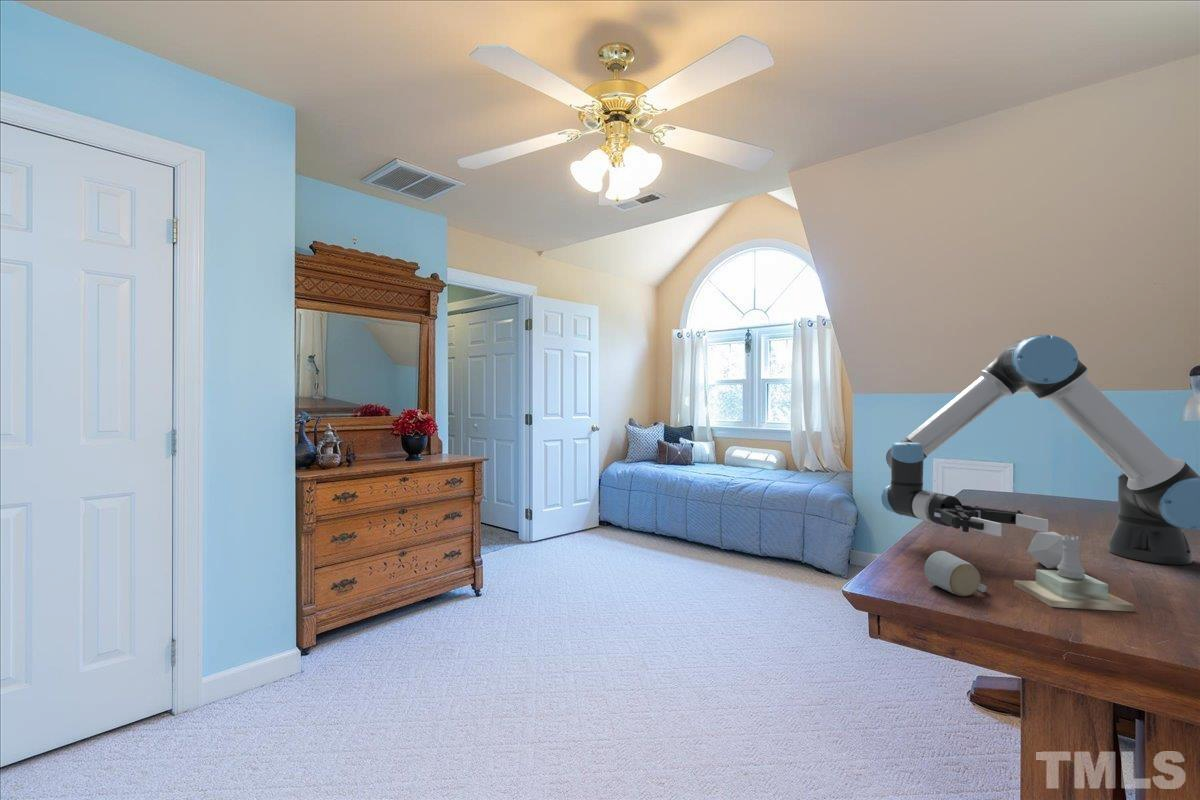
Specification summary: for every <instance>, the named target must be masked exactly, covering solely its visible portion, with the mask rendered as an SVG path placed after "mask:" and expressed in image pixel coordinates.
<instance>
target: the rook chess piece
mask: <svg viewBox="0 0 1200 800" xmlns="http://www.w3.org/2000/svg"><path fill="white" fill-rule="evenodd" d="M1062 536H1063V538H1062V539H1061V541H1062V542H1063V543H1064V546H1063V547H1062V548H1063V557H1062V560H1061V562H1060V564H1059V565H1058V566H1057V568H1056V569H1058V570H1057V573H1058V575H1059V576H1061V577H1064V578H1068V579H1075V580H1082V579H1084V578H1085V575H1083V574H1086V570H1085V568H1084V567H1083V565H1082V563H1081V560H1080V551H1081V549H1080V546H1081V545H1082V543H1083V542H1082V541H1081V539H1080V538H1081V537H1080V536H1076V535H1071V536H1070V534H1063V535H1062Z"/></svg>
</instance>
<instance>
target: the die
mask: <svg viewBox="0 0 1200 800" xmlns="http://www.w3.org/2000/svg"><path fill="white" fill-rule="evenodd" d="M1062 538H1063V535H1061V534H1060V533H1057V532H1055V531H1048V532H1041V531H1038V532H1035V534H1034V536H1033V539H1032V540H1031V542H1030V545H1029V546H1028V549H1027V551H1026V552H1027V553H1028V554H1029V555H1031V557H1032V558H1034V560H1035V561H1037V562H1038V563H1039V564H1041V565H1042V566H1043V567H1045V568H1047V569H1058V568H1057V566H1058V565H1059V564H1060V562H1061V560H1062V557H1063V548H1062V547H1063V546H1064V543H1063V542H1062V541H1061V539H1062Z"/></svg>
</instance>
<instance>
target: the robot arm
mask: <svg viewBox="0 0 1200 800" xmlns="http://www.w3.org/2000/svg"><path fill="white" fill-rule="evenodd" d="M1088 371H1089V368H1088V367H1087V366H1086V365H1084V363H1083V362H1081V360H1080V359H1079V355H1078V352H1077V349H1076V348H1075V347H1074V345H1073V344H1072V343H1071V342H1070V341H1069V340H1066V339H1065V338H1063V337H1060V336H1058V335H1057V336H1056V335H1052V334H1038V335H1032V336H1029V337H1027V338H1024V339H1021V340H1017V341H1015V342H1013V343H1012V344H1010V345H1008V346H1006V348H1005V349H1003V351H1002V352H1001V353H999V355H997V356H996V357H995V358H994V359H993V360H992V361H991V362H990V363H989V364H988V365H987V366H986V367H984V368H983V369H981V371H980V377H978V378H977V379H976V380H975V381H973V382H972V383H971V384H970V385H968V386H967V387H966V388H965V389H964V390H962V391H961V392H960V393H959V394H958V395H956V396H955V397H954V398H953V399H951V400H950V401H949V402H947V403H946V404H945V405H944V406H943V407H942V408H939V410H938V411H936V412H935V413H934V414H933V415H932V416H930V417H928V419H926V421H924V422H923V423H922V424H921V425H919V426H918V427H917V428H916V429H915V430H913V431H912V432H911V433H909V434H908V435H907V436H906V437H905V438H904V439H902V440H901V441H895V442H893V443H892V445H891V447H890V448H888V450H887V452H886V455H885V460H886V464H887V465H888V467H889V468H890V470H891V472H890V473H891V476H890V477H891V480H890V484H887V485H886V486H885V487H884V488H883V490H882V491H883V492H882V493H881V495H880V501H881V503H882V506H883V507H884V508H885V509H886V510H887V511H888V512H889V511H890V513H891V512H892V513H895V514H897V515H898V516H899V515H900V516H905V517H910V518H912V519H913V518H914V519H918V520H922V521H925V523H926V524H931V523H935V524H936V525H939V526H944V527H952V528H953V529H957V530H958V529H961V528H962V530H961V531H962V532H964V533H969V532H970V531H969V530H972V531H975V532H979V533H983V534H987V535H991V536H995V537H1002V529H1003V528H1002V527H1003V525H1002V524H1009V525H1015V526H1016V527H1019V528H1025V529H1028V530H1033V531H1038V532H1049V519H1046V518H1041V517H1036V516H1032V515H1027V514H1024V513H1023V512H1022V511H1021V510H1019V509H1018V510H1016V511H1012V510H1006V509H997V508H989V507H983V506H979V505H976V506H972V505H969V504H968V505H967V504H962V502H961V500H959V499H958V498H957V497H956V496H953V495H950V494H949V495H948V494H945V493H944V494H942V493H939V492H933V491H930V490H924V489H923V488H924V460H925V459H927V458H928V457H929V456H930V455H931V454H933V453H934V452H935V451H936V450H938V449H939V448H940V447H942V446H943V445H944V444H945V443H947V442H948V441H949V440H950V439H951V438H953V437H954V436H955V435H957V434H958V433H959V432H961V431H962V430H964V429H965V427H967V426H968V425H969V424H971V423H972V422H973V421H974V420H976V419H977V418H979V416H981V415H982V414H983V413H985V412H986V411H987V410H988V409H990V408H991V407H992V406H994V405H995V404H996V403H998V402H999V401H1000V400H1001V399H1003V398H1004V397H1012V396H1013V395H1014V394H1016V392H1018V391H1021V390H1022V389H1023V388H1025V387H1027V388H1028V390H1030V391H1031V392H1032V393H1033V394H1034V395H1035V396H1036V397H1037V398H1038V399H1039V400H1047V401H1048V400H1049V401H1051V402H1052V403H1053V404H1054V405H1055V406H1056V407H1057V408H1058V409H1059V410H1060V411H1061V412H1062V413H1063V414H1064V416H1066V417H1067V418H1068V419H1069V420H1070V422H1072V423H1073V424H1074V425H1075V426H1076V427H1077V428H1078V429H1079V430H1080V431H1081V432H1082V433H1083V434H1084V435H1085V436H1086V437H1087V438H1088V440H1090V441H1091V442H1092V443H1093V444H1094V445H1095V446H1096V447H1097V448H1098V449H1099V450H1100V451H1101V452H1102V453H1103V454H1104V455H1105V456H1106V457H1107V458H1108V459H1109V460H1110V461H1111V462H1112V463H1113V464H1114V465H1115V466H1116V467H1117V468H1118V469H1119V471H1118V476H1117V480H1118V483H1117V485H1118V488H1117V489H1118V492H1117V493H1118V494H1117V495H1118V496H1117V497H1118V498H1117V505H1118V506H1117V510H1118V511H1117V515H1118V516H1117V523H1116V526H1115V528H1114V529H1113V531H1112V534H1111V536H1110V538H1109V541H1108V548H1107V549H1108V550H1107V551H1108V552H1109V553H1110V554H1114V555H1117V556H1120V557H1123V558H1127V559H1131V560H1137V561H1141V562H1148V563H1154V564H1163V565H1174V566H1175V565H1176V566H1177V565H1178V566H1179V565H1181V566H1182V565H1183V566H1184V565H1191V564H1192V563H1193V552H1192V550H1191V548H1190V545H1189V542H1188V540H1187V537H1186V536H1185V532H1184V530H1183V529H1185V530H1192V531H1198V530H1199V531H1200V474H1198V473H1197V472H1196V471H1195V470H1194V469H1193V468H1192V467H1191V466H1189V464H1188V463H1187V462H1186V461H1185V460H1183V459H1182V458H1177V457H1169V456H1168V455H1167V454H1166V453H1165V452H1164V451H1163V450H1162V449H1161V448H1159V447H1158V445H1157V444H1156V443H1154V441H1152V440H1151V439H1150V438H1149V437H1148V436H1147V434H1145V433H1144V432H1143V430H1141V429H1140V428H1139V427H1138V426H1137V425H1136V424H1135V423H1134V422H1133V421H1132V420H1131V419H1130V418H1129V417H1128V416H1126V415H1125V414H1124V413H1123V411H1121V410H1120V409H1119V408H1118V407H1117V406H1116V405H1115V404H1114V403H1113V402H1112V401H1111V400H1110V399H1109V398H1108V397H1107V396H1106V395H1105V394H1104V393H1103V392H1102V391H1101V390H1100V389H1099V388H1098V387H1097V386H1096V385H1095V384H1093V382H1092V381H1091V380H1090V379H1088Z"/></svg>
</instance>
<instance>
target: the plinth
mask: <svg viewBox="0 0 1200 800" xmlns="http://www.w3.org/2000/svg"><path fill="white" fill-rule="evenodd" d="M1057 571H1058V570H1055V569H1054V570H1053V569H1035V580H1019V579H1013V586H1014V587H1015V588H1017V589H1019V590H1021V591H1022V592H1024V593H1026V594H1027V595H1029V596H1031V597H1032V598H1035V599H1036V600H1038V601H1040V602H1042V603H1044V604H1045V605H1047V606H1049V607H1050V608H1064V609H1066V608H1067V609H1081V610H1084V609H1085V610H1098V611H1099V610H1103V611H1115V612H1116V611H1119V612H1135V605H1134V604H1133V603H1131V602H1128V601H1126V600H1125V599H1122V598H1120V597H1118V596H1115V595H1113V594H1111V593H1109V584H1108V583H1106V582H1103V581H1101V580H1099V579H1096V578H1094V577H1093V576H1089V575H1088V574H1086V573H1084V574H1083V575H1085V578H1084V579H1082V580H1075V579H1068V578H1064V577H1061V576H1059V575H1058V573H1057Z"/></svg>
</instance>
